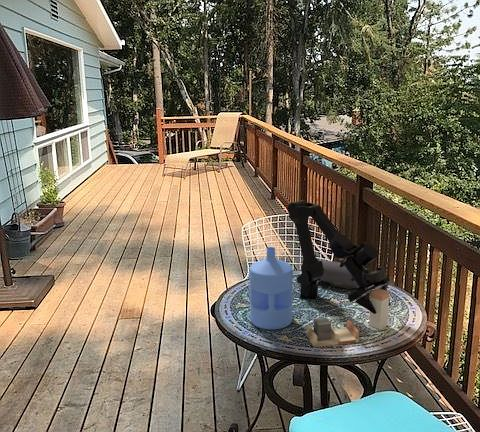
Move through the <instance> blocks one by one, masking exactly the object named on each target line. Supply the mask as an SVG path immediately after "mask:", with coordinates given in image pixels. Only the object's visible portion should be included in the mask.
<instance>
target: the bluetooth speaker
mask: <svg viewBox="0 0 480 432" xmlns="http://www.w3.org/2000/svg"><path fill="white" fill-rule="evenodd" d="M318 260H319V261H322V263H323V268H324V271H323V272H324V274H323V276H322V277H321V279H320V281H323V282H326V283H328V284H329V285H330V286H334V287H339V288H343V289H350V290H352V289H354V288H355V289H357V288H359V287H358V286H357V284H356V283H355V281H353V282H352V281H351V279H352V276H351V275H350V273H349V272H348V270H347V269H346V267H345V266H344V267H341V268H340V263H341V262H338V261H331V260H324V259H318ZM365 269H368V268H366V267H365ZM370 271H371V272H372V270H371V269H370Z"/></svg>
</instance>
